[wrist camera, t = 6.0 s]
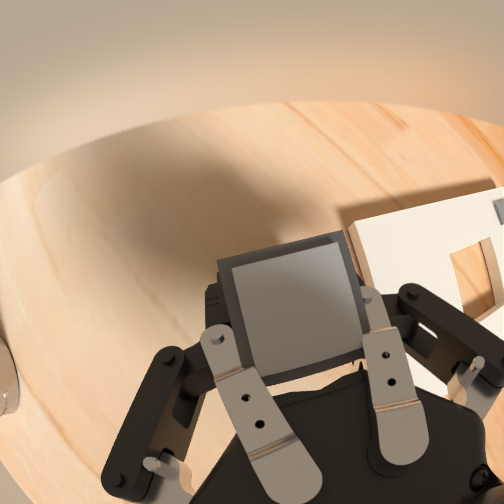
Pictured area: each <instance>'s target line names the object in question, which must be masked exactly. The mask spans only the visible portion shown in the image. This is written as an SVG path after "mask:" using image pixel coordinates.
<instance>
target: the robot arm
mask: <svg viewBox="0 0 504 504" xmlns="http://www.w3.org/2000/svg"><path fill="white" fill-rule="evenodd" d="M356 275H357V278H358V282H359V285H360V289H361V293H362V296H363V300H364V304H365V308H366V312H367V316H368V320H369V324H370V329H371V330H369V331H363V332H362V333H363V338H364V339H362V347H361V348H360V349H361V359H358V360H356V361H353V362H350V365H351V373H350V374H348V375H345V376H342V377H341V378H339V379H338V380H336V381H334V382H333V383H331V384H329V385H328V386H326V387H324V388H322V389H320V390H316V391H301V392H289V393H285V394H281V395H277V396H273V397H272V396H271V395H270V393H269V391H268V390H267V388H266V386H265V384H264V383H263V381H262V379H261V378H260V376H259V374H258V372H257V371H256V369H255V367H254V366H253V364H252V363H251V364H248V365H246V366H243V367H242V366H241V362H240V358H239V354H238V350H237V346H236V342H235V338H234V334H233V330H232V325H231V321H230V317H229V313H228V309H227V304H226V300H225V296H224V291H223V287H222V282H221V278H220V273H219V272H217V281H218V283H214V284H210V285H209V286H208V288H207V290H206V291H205V326H206V330H205V331H204V332H203V333H202V335H201V338H200V341H199V342H198V343H197V344H195V345H194V346H192V347H190V348H187V349H185V350H182V349H181V348H179V347H177V346H168V347H165V348H163V349H161V350H160V351H159V352H158V353H157V354H156V355H155V357H154V359H153V361H152V363H151V365H150V367H149V369H148V371H147V373H146V375H145V377H144V379H143V381H142V383H141V385H140V388H139V390H138V392H137V394H136V396H135V398H134V400H133V402H132V405H131V407H130V409H129V411H128V413H127V416H126V418H125V420H124V422H123V424H122V427H121V429H120V431H119V433H118V436H117V438H116V440H115V442H114V445H113V447H112V449H111V452H110V454H109V456H108V459H107V461H106V464H105V466H104V468H103V471H102V474H101V483H102V486H103V488H104V489H105V491H106V492H107V493H109V494H110V495H112V496H114V497H117V498H121V499H124V500H125V501H128V502H131V503H135V504H504V482H502V481H501V480H500V479H499V478H498V477H497V476H496V475H495V474H494V473H493V472H492V471H491V469H490V468H489V466H488V464H487V459H486V452H485V427H484V424H483V419H484V418H485V416H486V415H487V413H488V411H489V410H490V408H491V407H492V405H493V403H494V402H495V400H496V398H497V396H498V395H499V393H500V392H501V391H502V390H503V389H504V341H503V340H502V339H500V338H499V337H498V336H496V335H495V334H493V333H492V332H491V331H489V330H488V329H486V328H485V327H484V326H482V325H481V324H479V323H478V322H476V321H475V320H473V319H472V318H470V317H469V316H468V315H466V314H465V313H463V312H462V311H460V310H459V309H457V308H455V307H454V306H452V305H451V304H449V303H448V302H446V301H445V300H443V299H442V298H440V297H438V296H437V295H435V294H434V293H432V292H431V291H429V290H427V289H426V288H424V287H423V286H421V285H419V284H416V283H407V284H404V285H402V286H401V287H400V288H399V291H398V293H397V294H380V292H379V291H378V290H377V289H375V288H373V287H369V286H366V285H365V284H364V282H363V281H362V280H361V278H360V277H359V276H358V274H357V273H356ZM419 323H421V324H422V325H424V326H425V327H427V328H428V329H429V330H431V331H432V332H433V333H435V335H436V336H437V338H436V337H434V336H433V335H432V334H430V333H429V332H428V331H426V330H425V329H424V328H422V327H421V326H419ZM405 352H406V353H407V354H409V355H410V356H411V357H412V358H413V359H415V360H416V361H417V362H418V363H420V364H421V365H422V366H423V367H425V368H426V369H427V370H428V371H429V372H431V373H432V374H433V375H434V376H436V377H437V378H438V379H439V380H440V381H442V382H443V383H444V384H445V385H446V386H447V391H448V394H449V396H448V398H449V400H448V399H445V398H443V397H440V396H438V395H436V394H433V393H431V392H429V391H426V390H424V389H422V388H419V387H417V386H415V385H414V382H413V378H412V374H411V371H410V367H409V363H408V360H407V356H406V353H405ZM216 387H217V389H218V392H219V394H220V396H221V399H222V401H223V403H224V406H225V408H226V410H227V412H228V415H229V417H230V419H231V421H232V423H233V426H234V428H235V430H236V432H237V433H236V434H235V436H234V437H233V439H232V440H231V442H230V444H229V445H228V447H227V448H226V450H225V451H224V453H223V454H222V456H221V457H220V459H219V460H218V462H217V463H216V465H215V466H214V468H213V469H212V471H211V472H210V474H209V475H208V476H207V478H206V479H205V481H204V482H203V483H202V485H201V486H200V488H199V489H198V490H197V492H196V493H195V492H194V490H193V489H192V486H191V478H192V473H191V470H190V468H189V467H188V466H187V465H186V464H185V463H184V460H185V457H186V454H187V451H188V448H189V445H190V442H191V438H192V435H193V432H194V429H195V426H196V423H197V420H198V417H199V414H200V411H201V408H202V405H203V402H204V399H205V396H206V392H208V391H210V390H212V389H214V388H216ZM18 402H19V387H18V380H17V375H16V370H15V367H14V363H13V360H12V357H11V355H10V352H9V350H8V348H7V346H6V344H5V342H4V341H3V339H2V338H1V337H0V416H3V415H6V414H10V413H13V412H14V411H15V410H16V409H17V406H18Z"/></svg>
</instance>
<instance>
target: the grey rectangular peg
mask: <svg viewBox="0 0 504 504" xmlns="http://www.w3.org/2000/svg"><path fill="white" fill-rule="evenodd" d="M217 264H218V269H219V273H220V278H221V282H222V287H223V291H224V296H225V300H226V304H227V309H228V313H229V317H230V321H231V325H232V330H233V334H234V338H235V342H236V346H237V350H238V354H239V358H240V362H241V366H242V367H243V366H246V365H248V364H251V363H252V364H253V366H254V367H255V369H256V371H257V372H258V374H259V376H260V378H261V379H262V381H263V383H264V384H265V386H266V387H267V386H271V385H276V384H280V383H284V382H288V381H291V380H295V379H299V378H302V377H306V376H309V375H313V374H316V373H319V372H323V371H326V370H329V369H332V368H335V367H338V366H341V365H344V364H347V363H350V362H353V361H356V360H358V359H361V349H360V348H361V347H362V339H364V338H363V333H362V332H363V331H369V330H371V329H370V324H369V320H368V316H367V312H366V308H365V304H364V300H363V296H362V293H361V289H360V285H359V282H358V278H357V275H356V271H355V268H354V265H353V261H352V258H351V255H350V252H349V248H348V245H347V242H346V239H345V236H344V233H343V230H340V231H336V232H332V233H327V234H323V235H319V236H315V237H311V238H307V239H303V240H299V241H294V242H290V243H286V244H282V245H278V246H274V247H270V248H266V249H262V250H257V251H253V252H249V253H245V254H241V255H237V256H233V257H229V258H224V259H220V260H217Z"/></svg>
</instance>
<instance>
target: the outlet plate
mask: <svg viewBox="0 0 504 504" xmlns="http://www.w3.org/2000/svg"><path fill="white" fill-rule="evenodd" d="M348 231H349V234H350V237H351V240H352V243H353V246H354V249H355V253H356V256H357V259H358V262H359V266H360V269H361V272H362V276H363V279H364V283H365V285H366V286H369V287H373V288H375V289H377V290H378V291H379V292H380V294H397V293H398V291H399V288H400V287H401V286H402V285H404V284H407V283H416V284H419V285H421V286H423V287H424V288H426V289H427V290H429V291H431V292H432V293H434V294H435V295H437V296H438V297H440V298H442V299H443V300H445V301H446V302H448V303H449V304H451V305H452V306H454V307H455V308H457V309H459V310H460V311H462V312H463V307H462V302H461V298H460V293H459V289H458V285H457V281H456V277H455V273H454V269H453V266H452V262H451V259H450V256H449V254H450V253H453V252H455V251H458V250H460V249H463V248H465V247H468V246H470V245H472V244H475V243H477V242H479V241H480V243H481V246H482V250H483V253H484V257H485V260H486V264H487V268H488V272H489V276H490V280H491V285H492V289H493V294H494V299H495V306H493V307H492V308H490V309H489V310H487V311H486V312H484V313H483V314H481V315H480V316H478V317H477V318H475V319H474V320H475V321H476V322H478V323H479V324H481V325H482V326H484V327H485V328H486V329H488V330H489V331H491V332H492V333H493V334H495V335H496V336H498V337H499V338H500V339H502V340H503V341H504V187H500V188H495V189H491V190H487V191H482V192H478V193H473V194H469V195H465V196H460V197H456V198H452V199H447V200H443V201H439V202H434V203H430V204H426V205H421V206H417V207H413V208H409V209H404V210H400V211H396V212H392V213H387V214H383V215H379V216H375V217H370V218H366V219H362V220H358V221H354V222H353V223H352V224H351V226H350V227H349V228H348ZM463 313H464V312H463ZM419 326H421V327H422V328H424V329H425V330H426V331H428V332H429V333H430V334H432V335H433V336H434V337H436V338H437V336H436V335H435V333H433V332H432V331H431V330H429V329H428V328H427V327H425V326H424V325H422V324H421V323H419ZM405 353H406V352H405ZM406 356H407V360H408V363H409V367H410V371H411V374H412V378H413V382H414V385H415V386H417V387H419V388H422V389H424V390H426V391H429V392H431V393H433V394H436V395H438V396H440V397H443V396H445V395H447V394H448V391H447V386H446V385H445V384H444V383H443V382H442V381H440V380H439V379H438V378H437V377H436V376H434V375H433V374H432V373H431V372H429V371H428V370H427V369H426V368H425V367H423V366H422V365H421V364H420V363H418V362H417V361H416V360H415V359H413V358H412V357H411V356H410V355H409V354H407V353H406Z"/></svg>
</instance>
